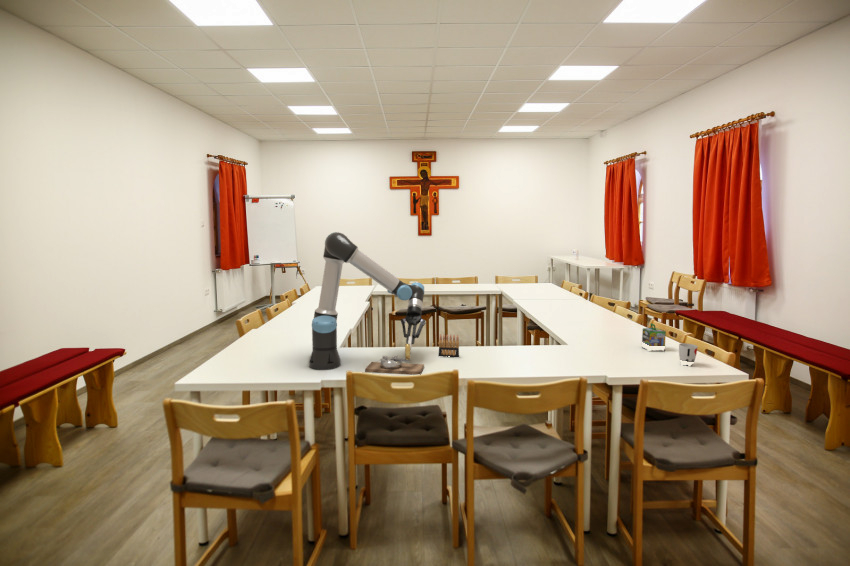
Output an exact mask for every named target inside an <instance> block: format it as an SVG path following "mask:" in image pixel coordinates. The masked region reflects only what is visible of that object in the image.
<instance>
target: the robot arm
mask: <svg viewBox="0 0 850 566" xmlns="http://www.w3.org/2000/svg"><path fill="white" fill-rule="evenodd" d="M322 257H323V259H324V261H325V263H324V270H323V276H322V283H321V288H320V289H321V290H320V294H319V302H318V307H317V308H316V309H314V312H313V313H314V314H313V319H312V320H311V337H312V339H311V341H312V343H311V344H312V345H311V346H312V351H311V355H310V356H309V361H308V367H309V368H310V369H314V370H322V371H323V370H331V369H332V370H333V369H337V368H339V367H340V366H341V365H342V360H341V357H340V355H339V350H338V340H337V339H338V335H337V334H338V333H337V332H338V331H337V330H338V328H337V327H338V321H337V320H338V314H339V313H338V312H337V310H336V307H337V301H338V295H339V288H340V284H341V283H340V282H341V277H342V270H343V264H344V263H346V264H349V263H350V264H351V265H352V266H353V267H355V268H356V269H357V270H359V271H361V272H362V273H363V274H365V275H366V276H367V277H369V278H370V279H372V280H373V281H374V282H375V283H377V284H379V285H380V286H382V287H383V288H385V289H386V291H387V293H389V294H391V295H394V296H395V297H397V298H398V300H401V301H407V302H408V303H407V310H406V316H405V317H404V318H400V323H401V325H402V333H403V337H404V338H406V340H405V342H406V344H410V352H411V351H412V347H413V345H414V344H415V339H418V338H420V335H421V332H422V330H423V328H424V326H425V325H426V324H427V323H426V320H425V319H423V318H422V313H423V312H422V311H423V304H424V296H425V286H424V285H423V284H422V283H420V282H413V283H411V284H408V283H406V282H403V281H402V280H400V279H399V278H398V277H396V276H395V275H394V274H392V273H391V272H389V271H388V270H387V269H385V268H384V267H383V266H381V265H380V264H378V263H377V262H376V261H374V260H373V259H372V258H370V257H369V256H368V255H366V254H365V253H364V252H362V251H360V250H359V247H358V246H357V244H355V243H353V241H351V240H350V239H349V237H348V236H347V235H345V234H344V233H341V232H339V231H337V232H336V231H335V232H332V233H330V234H328V235H327V237H326V238H325V240H324V249H323V255H322ZM406 323H407V324H408V325H407V331H406ZM418 324H419V326H418ZM417 326H418V327H417Z"/></svg>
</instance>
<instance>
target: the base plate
mask: <svg viewBox="0 0 850 566" xmlns="http://www.w3.org/2000/svg"><path fill="white" fill-rule="evenodd" d="M424 369H425V364H424V363H408V362H404V363H403V362H402V366H401V367H400V368H397V369H384V368H382V367H381V366H380V361H371V362H370V363H369V364H368V365H367V366H366V367H365V369H364V372H365V373H375V374H377V373H378V374H380V373H381V374H397V375H412V374H421V375H422V372H423V370H424Z"/></svg>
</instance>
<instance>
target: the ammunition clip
mask: <svg viewBox="0 0 850 566" xmlns="http://www.w3.org/2000/svg"><path fill="white" fill-rule="evenodd" d="M459 340H460V339H459V335H458V334H456V336H455V334H453V336H452V334H450V335H449V334H448V333H447V334H446V335H445V334H443V335H442V333H441V334H439V341H438V356H437V357H439V356H447V357H446V358H454V357H459V358H460V342H459ZM448 356H450V357H448Z"/></svg>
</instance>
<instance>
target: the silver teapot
mask: <svg viewBox="0 0 850 566" xmlns="http://www.w3.org/2000/svg"><path fill="white" fill-rule="evenodd" d="M379 362H380V366H381V367H382V368H384V369H397V368H400V367H401V366H402V363H403V362H404V363H408V362H411V351H410V344H407V343H406V344H404V357H399V355H393V356H392V357H389V356H387V355H384V356H383V355H382V358H380V361H379Z"/></svg>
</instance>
